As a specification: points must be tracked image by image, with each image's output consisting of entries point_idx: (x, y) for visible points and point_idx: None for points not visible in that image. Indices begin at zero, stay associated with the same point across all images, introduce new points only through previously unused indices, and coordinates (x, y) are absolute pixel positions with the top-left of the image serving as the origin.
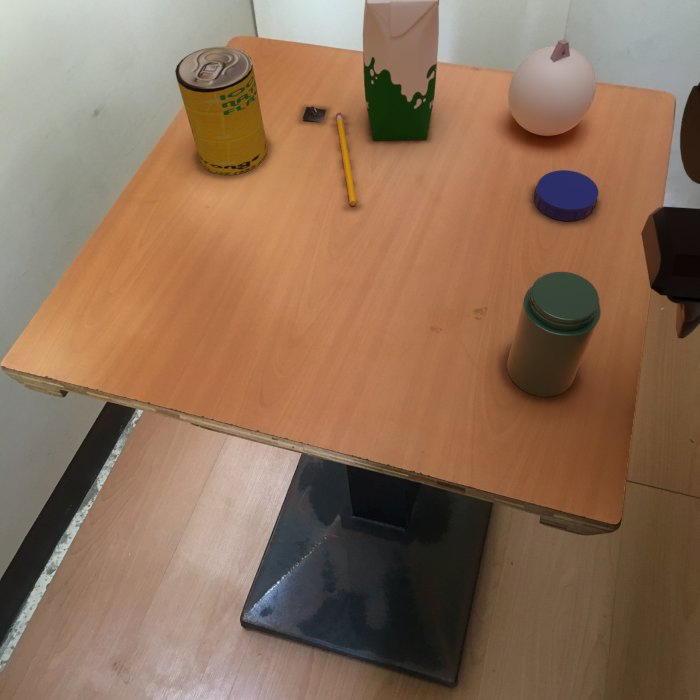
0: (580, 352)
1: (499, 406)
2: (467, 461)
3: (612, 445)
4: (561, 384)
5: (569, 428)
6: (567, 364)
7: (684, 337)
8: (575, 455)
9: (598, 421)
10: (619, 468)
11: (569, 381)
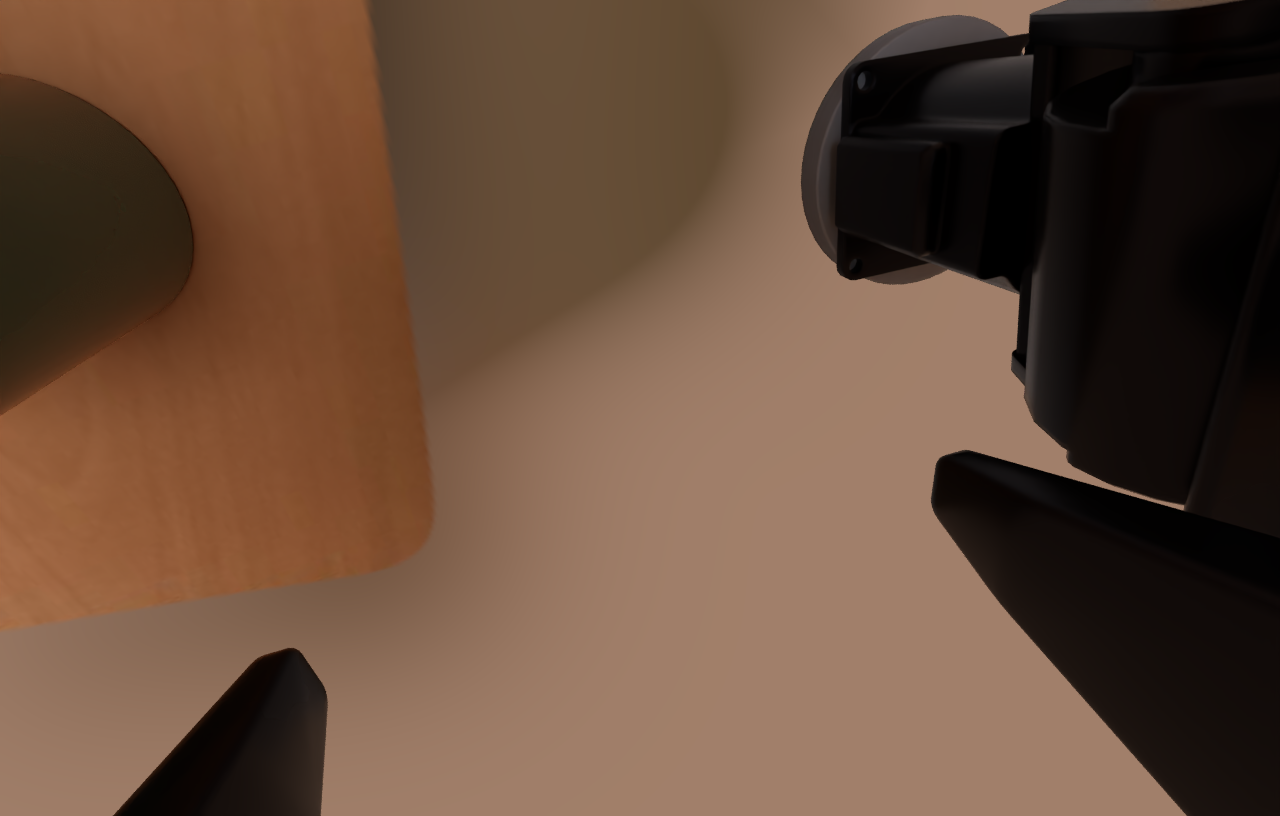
0: (38, 373)
1: None
2: (41, 577)
3: (391, 407)
4: (135, 326)
5: (260, 400)
6: (46, 385)
7: (323, 726)
8: (308, 464)
9: (331, 351)
10: (424, 456)
11: (159, 296)
